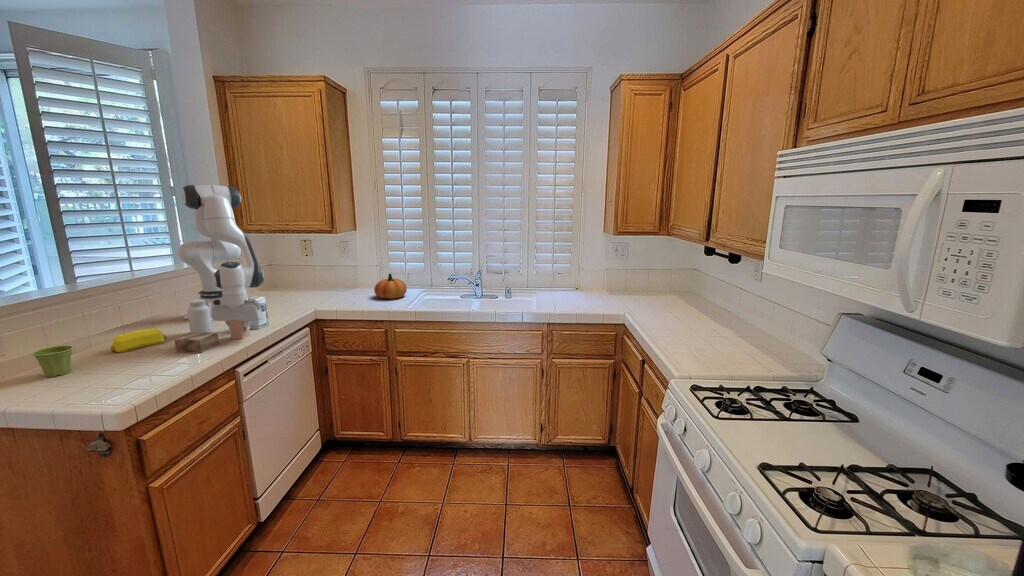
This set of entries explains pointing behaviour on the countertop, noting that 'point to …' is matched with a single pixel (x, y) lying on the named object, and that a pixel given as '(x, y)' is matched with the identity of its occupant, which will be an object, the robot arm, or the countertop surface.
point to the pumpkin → (390, 288)
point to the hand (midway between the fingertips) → (239, 330)
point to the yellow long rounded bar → (137, 340)
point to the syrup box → (264, 320)
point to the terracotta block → (238, 329)
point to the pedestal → (196, 342)
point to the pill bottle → (199, 317)
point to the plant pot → (54, 360)
